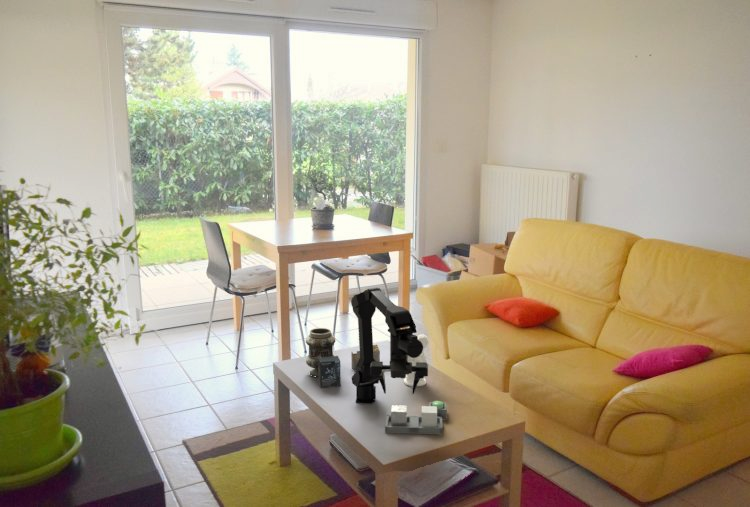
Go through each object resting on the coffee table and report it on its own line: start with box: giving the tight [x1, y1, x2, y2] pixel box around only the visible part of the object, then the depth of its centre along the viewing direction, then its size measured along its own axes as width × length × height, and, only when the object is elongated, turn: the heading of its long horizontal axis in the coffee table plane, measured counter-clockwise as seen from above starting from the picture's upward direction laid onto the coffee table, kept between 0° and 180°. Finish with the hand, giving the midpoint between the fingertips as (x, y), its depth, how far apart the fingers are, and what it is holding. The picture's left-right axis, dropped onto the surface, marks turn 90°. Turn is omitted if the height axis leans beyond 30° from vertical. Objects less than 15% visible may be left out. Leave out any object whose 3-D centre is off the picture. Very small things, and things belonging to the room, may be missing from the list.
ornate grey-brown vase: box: [305, 327, 336, 377], centre depth 262 cm, size 12×12×18 cm
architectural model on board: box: [351, 344, 381, 371], centre depth 269 cm, size 11×3×10 cm, turn 108°
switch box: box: [428, 401, 448, 420], centre depth 225 cm, size 6×6×4 cm
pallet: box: [384, 405, 444, 435], centre depth 216 cm, size 19×9×6 cm, turn 86°
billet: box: [390, 404, 408, 426], centre depth 217 cm, size 5×5×6 cm
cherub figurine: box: [403, 327, 430, 388], centre depth 251 cm, size 12×12×22 cm
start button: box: [432, 400, 443, 409], centre depth 225 cm, size 4×4×4 cm
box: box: [318, 355, 341, 388], centre depth 252 cm, size 8×6×11 cm
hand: (399, 393), depth 215 cm, fingers open, 9 cm apart
